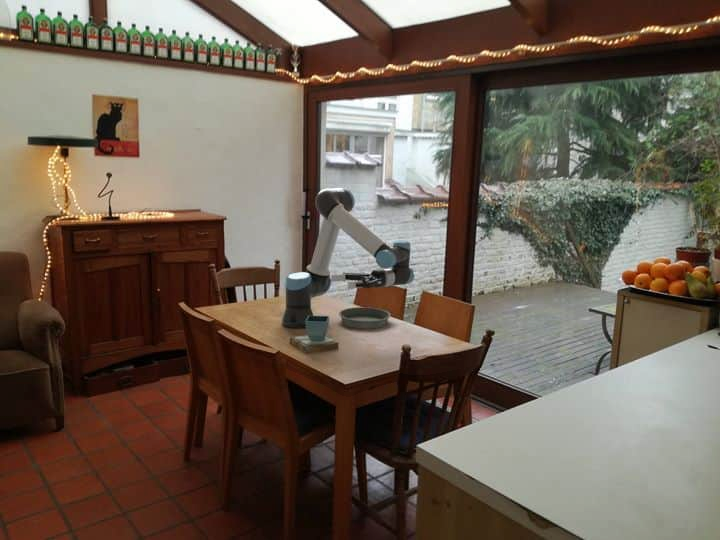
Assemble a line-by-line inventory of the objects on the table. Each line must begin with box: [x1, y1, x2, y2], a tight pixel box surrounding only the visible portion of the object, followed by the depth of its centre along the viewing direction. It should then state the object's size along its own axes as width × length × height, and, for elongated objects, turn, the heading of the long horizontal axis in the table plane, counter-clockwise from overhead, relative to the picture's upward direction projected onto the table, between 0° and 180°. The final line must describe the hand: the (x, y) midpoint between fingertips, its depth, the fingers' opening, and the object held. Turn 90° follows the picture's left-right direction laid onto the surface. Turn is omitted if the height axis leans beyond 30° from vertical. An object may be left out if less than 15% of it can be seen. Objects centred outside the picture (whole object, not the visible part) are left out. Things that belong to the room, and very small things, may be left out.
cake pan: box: [338, 306, 392, 329], centre depth 281 cm, size 25×25×4 cm
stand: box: [289, 334, 339, 354], centre depth 244 cm, size 16×14×3 cm
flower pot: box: [305, 315, 330, 341], centre depth 242 cm, size 9×9×9 cm
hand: (339, 281), depth 245 cm, fingers open, 13 cm apart
